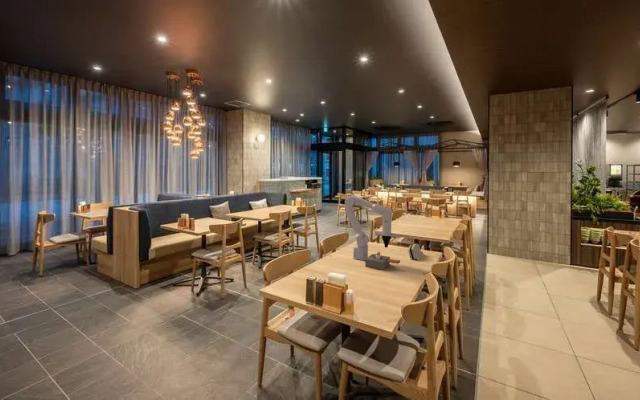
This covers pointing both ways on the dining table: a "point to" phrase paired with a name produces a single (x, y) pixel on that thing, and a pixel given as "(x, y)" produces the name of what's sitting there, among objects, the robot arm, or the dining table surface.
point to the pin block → (377, 262)
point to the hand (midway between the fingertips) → (386, 247)
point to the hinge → (415, 252)
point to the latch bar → (393, 261)
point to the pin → (377, 255)
